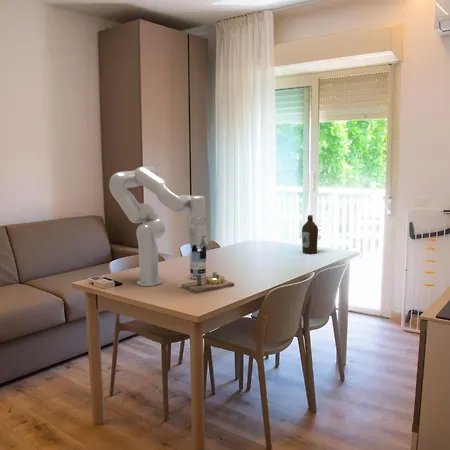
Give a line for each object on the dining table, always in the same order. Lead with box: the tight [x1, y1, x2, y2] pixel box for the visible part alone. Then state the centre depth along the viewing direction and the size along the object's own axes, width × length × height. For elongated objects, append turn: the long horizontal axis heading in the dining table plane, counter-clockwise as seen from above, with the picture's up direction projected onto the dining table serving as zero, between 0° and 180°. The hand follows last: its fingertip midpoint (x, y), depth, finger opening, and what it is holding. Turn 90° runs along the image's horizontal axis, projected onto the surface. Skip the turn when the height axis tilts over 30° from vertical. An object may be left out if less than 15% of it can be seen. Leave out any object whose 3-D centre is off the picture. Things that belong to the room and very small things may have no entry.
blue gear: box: [190, 251, 207, 262], centre depth 237 cm, size 7×7×4 cm
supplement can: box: [189, 248, 207, 280], centre depth 258 cm, size 8×8×15 cm
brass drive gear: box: [204, 271, 226, 285], centre depth 243 cm, size 10×10×5 cm
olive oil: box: [301, 214, 319, 255], centre depth 321 cm, size 11×11×25 cm
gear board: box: [181, 275, 235, 294], centre depth 241 cm, size 14×22×6 cm, turn 124°
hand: (198, 257), depth 237 cm, fingers closed on blue gear, 7 cm apart
